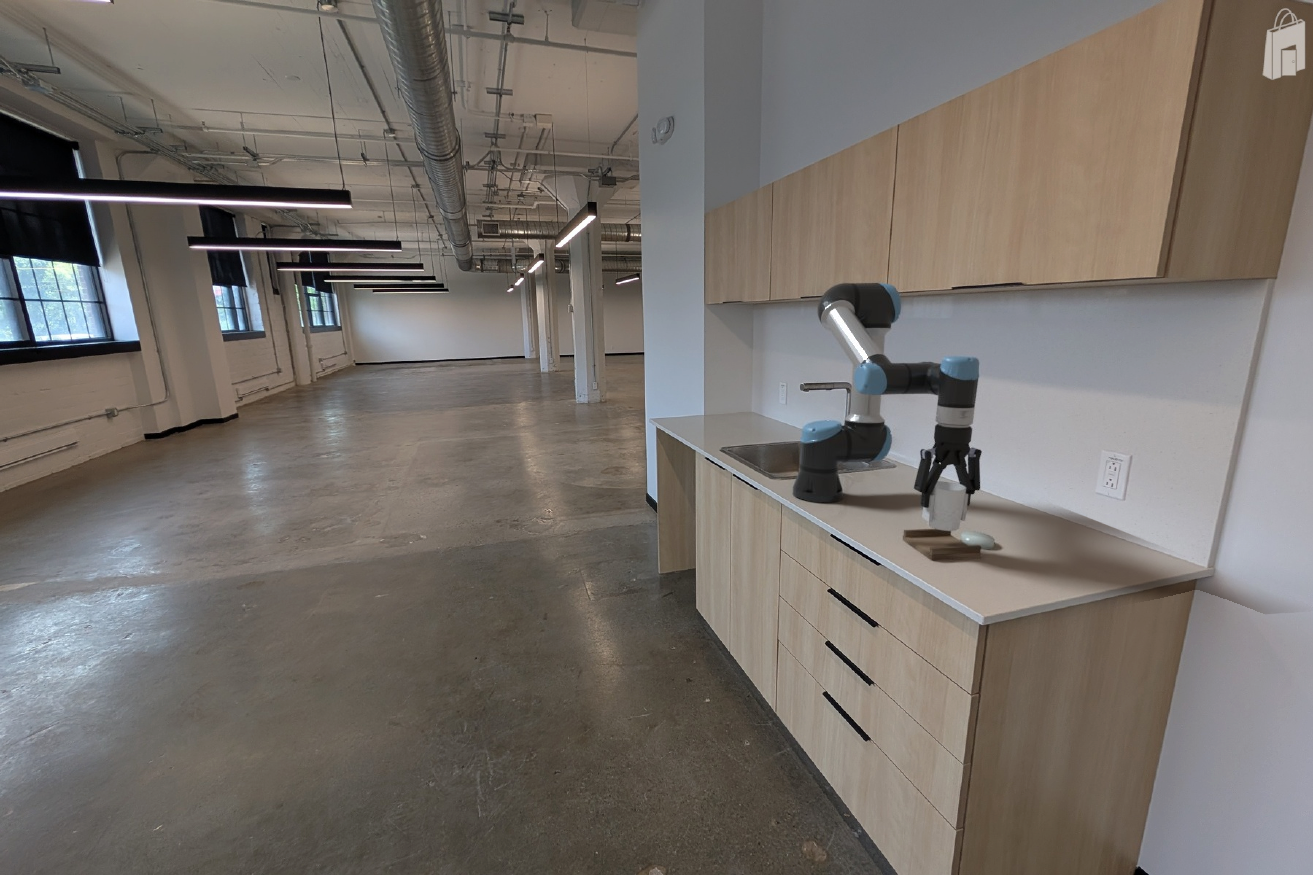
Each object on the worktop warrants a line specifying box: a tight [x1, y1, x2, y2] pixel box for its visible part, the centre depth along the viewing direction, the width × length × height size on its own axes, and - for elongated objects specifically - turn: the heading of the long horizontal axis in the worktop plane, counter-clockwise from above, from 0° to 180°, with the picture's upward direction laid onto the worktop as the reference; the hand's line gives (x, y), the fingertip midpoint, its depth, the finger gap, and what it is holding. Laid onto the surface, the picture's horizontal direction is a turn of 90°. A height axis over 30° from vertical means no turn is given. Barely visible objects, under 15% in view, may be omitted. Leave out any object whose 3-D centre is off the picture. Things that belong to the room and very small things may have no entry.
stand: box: [902, 528, 982, 561], centre depth 129 cm, size 12×12×3 cm
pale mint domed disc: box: [960, 530, 995, 550], centre depth 132 cm, size 7×7×2 cm
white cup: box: [926, 480, 966, 532], centre depth 127 cm, size 8×8×10 cm
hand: (943, 519), depth 128 cm, fingers closed on white cup, 8 cm apart
